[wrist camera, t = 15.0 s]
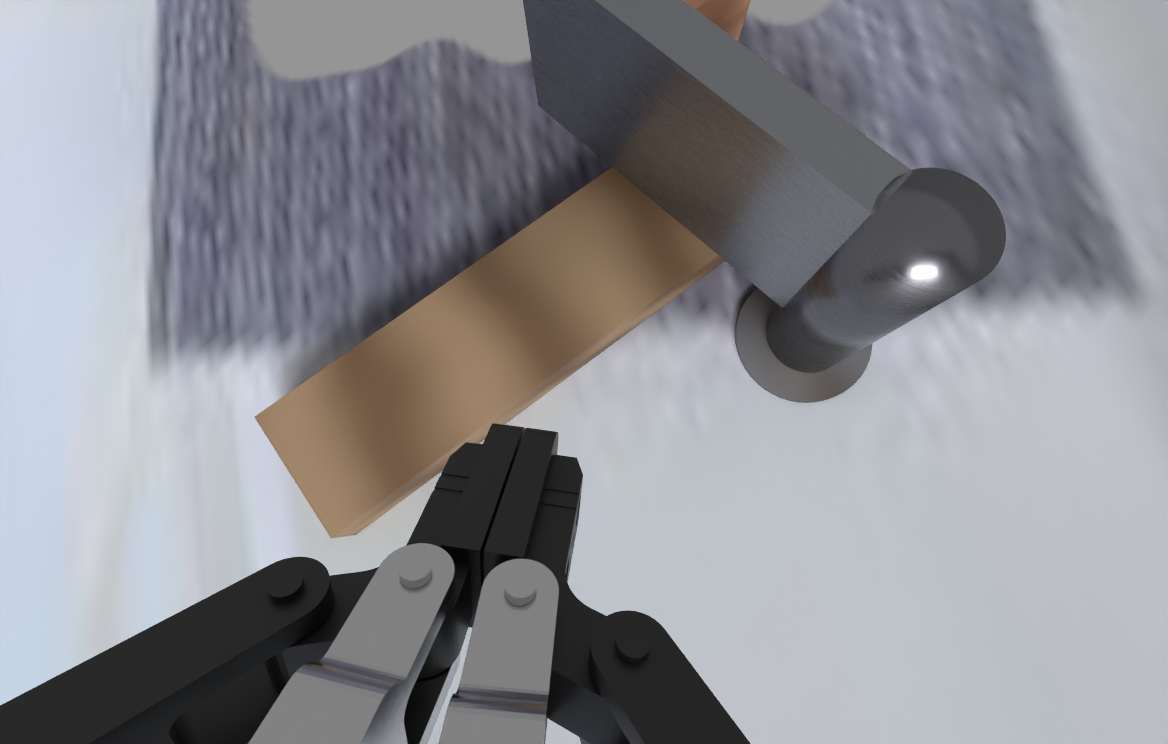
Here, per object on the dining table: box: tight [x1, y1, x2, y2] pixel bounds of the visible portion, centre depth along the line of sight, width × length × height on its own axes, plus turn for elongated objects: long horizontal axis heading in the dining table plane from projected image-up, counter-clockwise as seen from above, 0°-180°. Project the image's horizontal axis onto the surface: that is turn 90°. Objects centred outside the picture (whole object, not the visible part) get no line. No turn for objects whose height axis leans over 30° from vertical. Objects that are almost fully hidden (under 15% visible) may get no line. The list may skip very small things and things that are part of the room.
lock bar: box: [523, 0, 1006, 373], centre depth 22 cm, size 17×4×10 cm, turn 47°
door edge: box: [255, 0, 872, 538], centre depth 23 cm, size 26×18×8 cm
